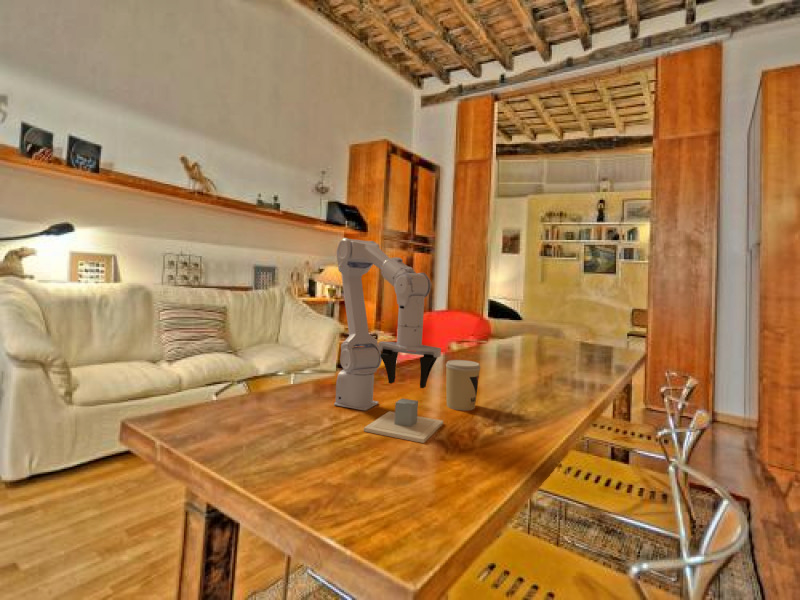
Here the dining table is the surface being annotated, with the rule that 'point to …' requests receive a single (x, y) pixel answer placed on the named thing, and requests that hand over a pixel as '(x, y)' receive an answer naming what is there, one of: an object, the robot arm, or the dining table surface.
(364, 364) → the robot arm
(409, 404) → the block
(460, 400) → the coffee cup
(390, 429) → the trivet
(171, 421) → the dining table surface
